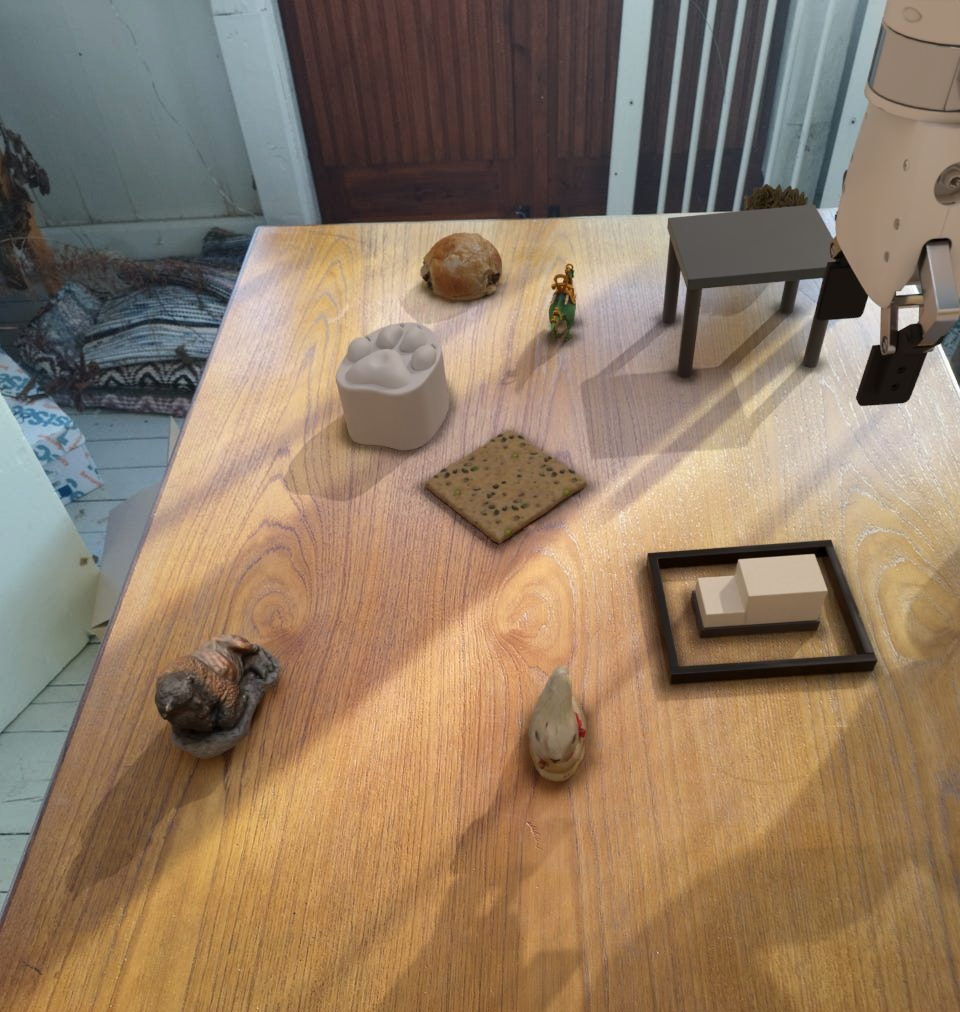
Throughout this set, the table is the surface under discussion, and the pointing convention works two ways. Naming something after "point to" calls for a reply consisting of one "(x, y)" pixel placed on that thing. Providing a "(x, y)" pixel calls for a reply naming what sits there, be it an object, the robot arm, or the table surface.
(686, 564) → the black rectangular frame
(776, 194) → the olive lumpy mound
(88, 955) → the table surface
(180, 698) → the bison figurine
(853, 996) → the table surface
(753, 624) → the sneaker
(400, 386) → the lumpy-topped squat cylinder
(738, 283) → the small grey table
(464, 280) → the bread roll
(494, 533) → the cookie
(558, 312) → the figurine
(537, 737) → the chocolate bunny
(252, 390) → the table surface
